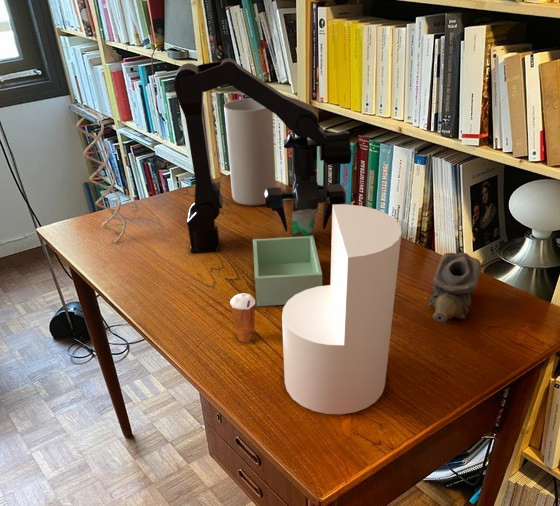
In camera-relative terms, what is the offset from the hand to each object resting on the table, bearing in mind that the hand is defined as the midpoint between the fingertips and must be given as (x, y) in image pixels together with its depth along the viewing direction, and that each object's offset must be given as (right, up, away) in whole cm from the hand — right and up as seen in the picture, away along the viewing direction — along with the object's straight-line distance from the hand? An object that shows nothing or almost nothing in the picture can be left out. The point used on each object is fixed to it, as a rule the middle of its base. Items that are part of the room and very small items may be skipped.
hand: (305, 229), depth 137 cm
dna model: (-48, 0, +7) cm, 49 cm away
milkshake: (-12, -29, -29) cm, 43 cm away
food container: (0, -2, +2) cm, 3 cm away
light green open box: (-5, -15, -14) cm, 21 cm away
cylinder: (+3, -36, -40) cm, 54 cm away
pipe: (+28, -24, -26) cm, 45 cm away
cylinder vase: (-13, +15, +24) cm, 31 cm away
